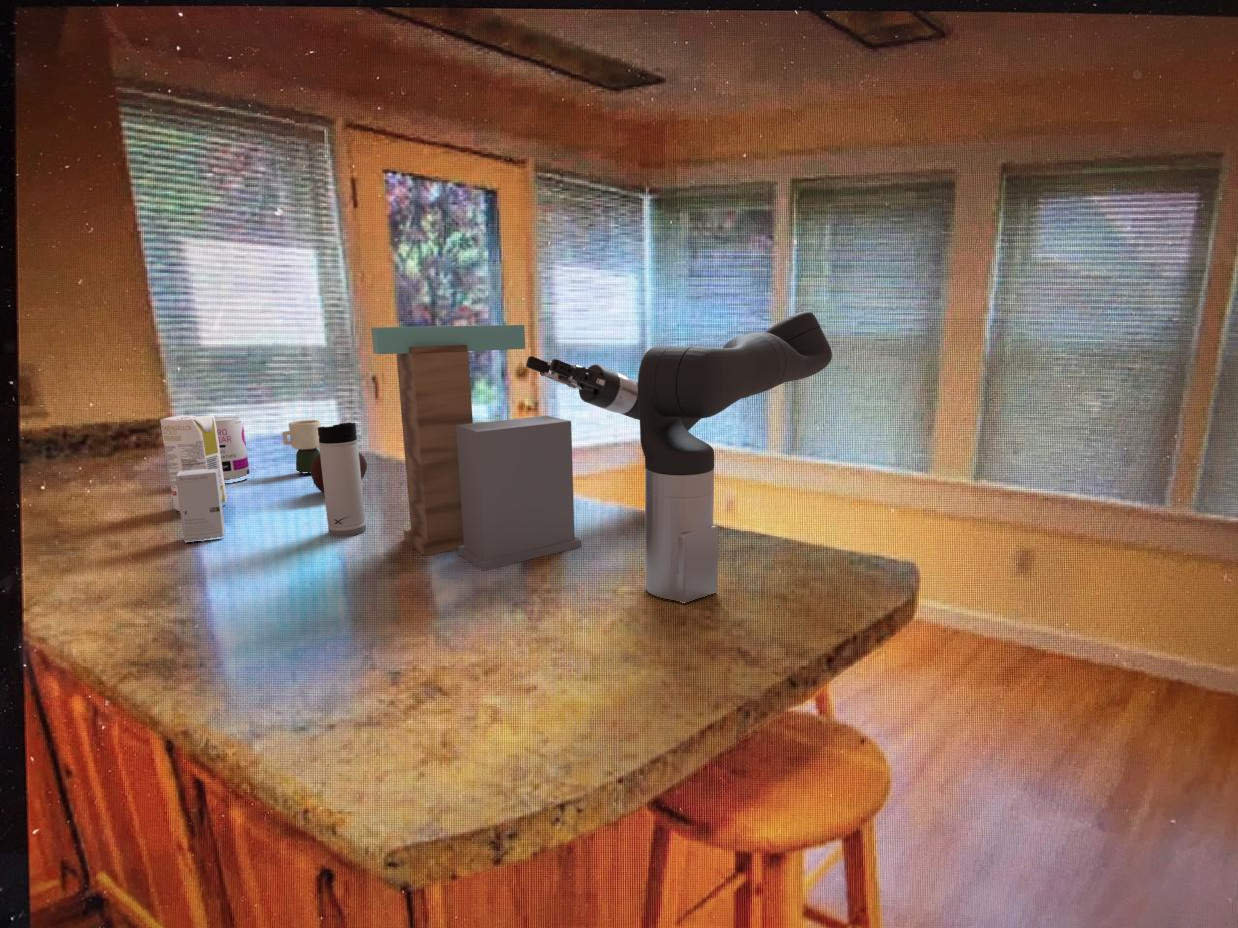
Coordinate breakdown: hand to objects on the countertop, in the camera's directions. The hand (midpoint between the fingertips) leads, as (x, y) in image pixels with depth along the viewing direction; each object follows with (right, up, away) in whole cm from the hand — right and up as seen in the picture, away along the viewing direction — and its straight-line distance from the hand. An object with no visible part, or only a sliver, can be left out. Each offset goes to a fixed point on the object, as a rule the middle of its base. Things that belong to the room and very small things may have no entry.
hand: (539, 362), depth 120 cm
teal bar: (-13, 0, -10) cm, 16 cm away
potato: (-47, -25, +28) cm, 60 cm away
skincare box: (-59, -31, -1) cm, 66 cm away
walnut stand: (-15, -31, -5) cm, 35 cm away
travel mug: (-35, -30, +1) cm, 46 cm away
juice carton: (-71, -27, +17) cm, 78 cm away
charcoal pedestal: (-2, -32, -10) cm, 34 cm away
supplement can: (-79, -22, +42) cm, 92 cm away
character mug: (-63, -21, +48) cm, 82 cm away
